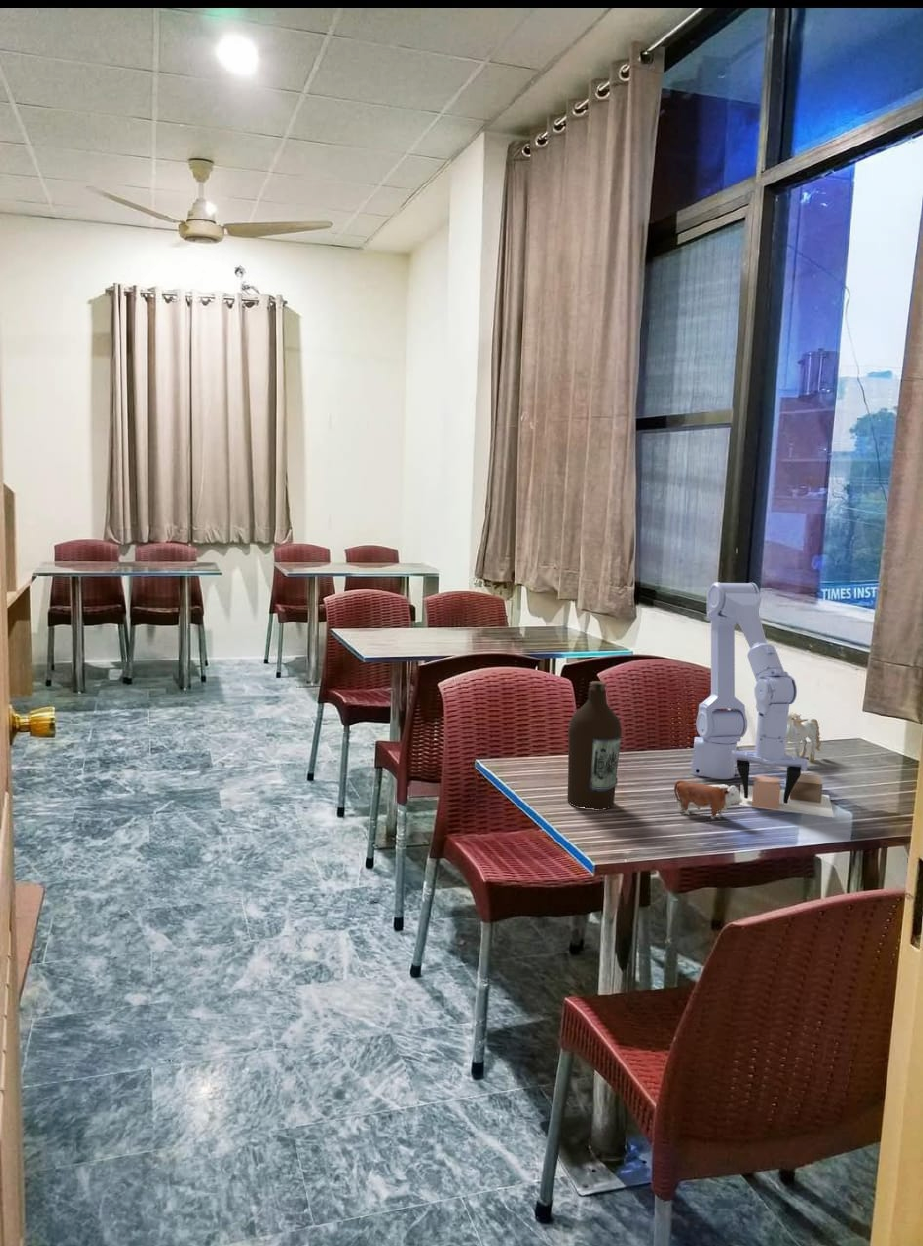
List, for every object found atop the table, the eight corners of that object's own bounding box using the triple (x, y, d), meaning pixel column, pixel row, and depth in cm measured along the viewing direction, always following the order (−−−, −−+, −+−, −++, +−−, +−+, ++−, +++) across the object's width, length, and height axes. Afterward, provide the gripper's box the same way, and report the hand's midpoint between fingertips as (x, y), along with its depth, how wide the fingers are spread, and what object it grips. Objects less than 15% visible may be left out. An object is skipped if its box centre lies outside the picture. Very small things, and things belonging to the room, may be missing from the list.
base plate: (739, 809, 194) (739, 804, 194) (740, 788, 208) (740, 784, 207) (833, 822, 189) (834, 817, 189) (828, 800, 202) (828, 795, 202)
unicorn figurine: (771, 770, 222) (776, 714, 220) (790, 751, 239) (795, 699, 237) (803, 776, 218) (808, 719, 216) (820, 756, 235) (825, 703, 233)
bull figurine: (737, 831, 182) (741, 790, 181) (669, 816, 189) (672, 776, 188) (744, 825, 186) (747, 784, 185) (677, 810, 193) (680, 771, 192)
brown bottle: (553, 798, 197) (560, 679, 193) (594, 791, 202) (601, 675, 198) (586, 815, 188) (594, 690, 184) (627, 807, 193) (636, 686, 189)
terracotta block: (752, 805, 194) (754, 782, 193) (752, 798, 199) (754, 774, 198) (778, 809, 193) (780, 785, 192) (777, 801, 197) (779, 778, 196)
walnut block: (790, 799, 199) (791, 780, 198) (789, 790, 205) (790, 772, 204) (820, 803, 197) (822, 784, 197) (818, 794, 203) (820, 776, 202)
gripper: (733, 735, 192) (728, 800, 194) (810, 744, 188) (804, 810, 190) (734, 727, 198) (729, 790, 200) (808, 735, 194) (802, 799, 196)
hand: (765, 799), depth 195 cm, fingers open, 7 cm apart
